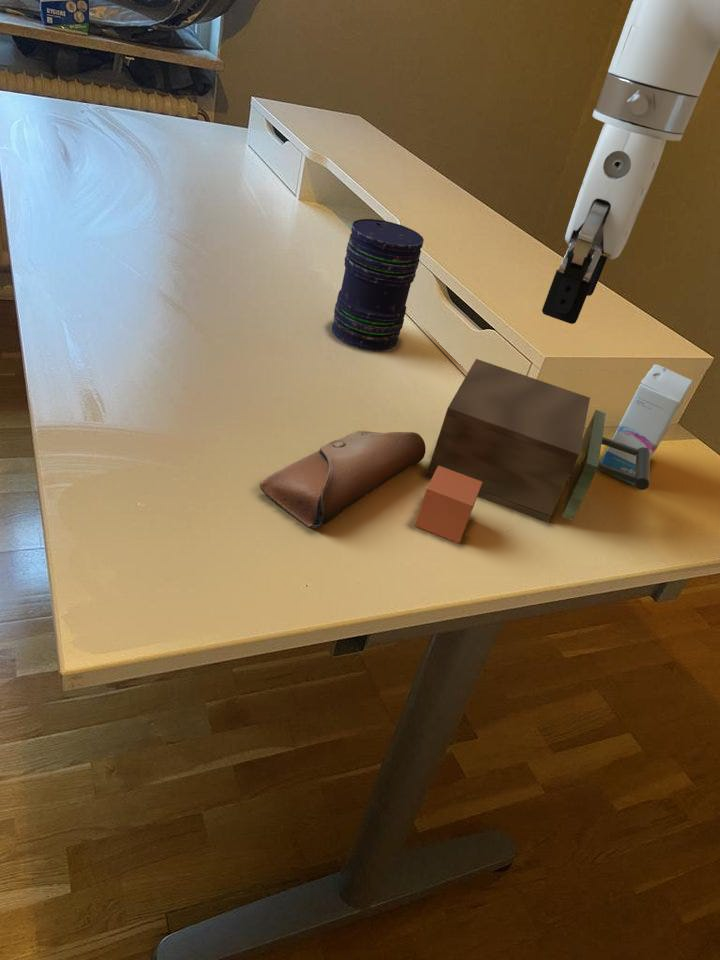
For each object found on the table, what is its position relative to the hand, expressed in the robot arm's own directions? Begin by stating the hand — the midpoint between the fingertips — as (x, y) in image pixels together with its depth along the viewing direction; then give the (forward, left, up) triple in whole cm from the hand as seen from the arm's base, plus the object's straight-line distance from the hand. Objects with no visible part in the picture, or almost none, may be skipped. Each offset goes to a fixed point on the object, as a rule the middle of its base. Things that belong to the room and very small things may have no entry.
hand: (567, 303), depth 70 cm
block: (+3, +12, -20) cm, 24 cm away
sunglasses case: (+14, +12, -21) cm, 28 cm away
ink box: (-12, -14, -21) cm, 28 cm away
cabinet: (+1, -2, -20) cm, 21 cm away
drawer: (-5, -2, -20) cm, 20 cm away
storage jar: (+27, -22, -21) cm, 40 cm away
